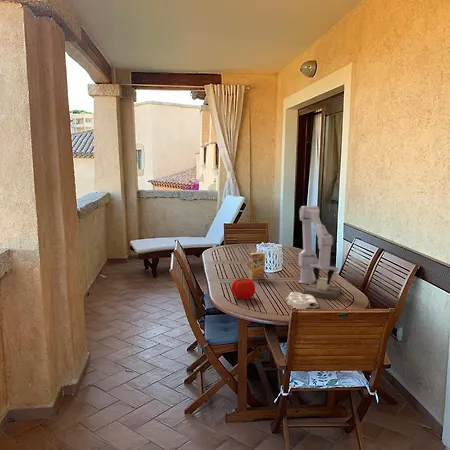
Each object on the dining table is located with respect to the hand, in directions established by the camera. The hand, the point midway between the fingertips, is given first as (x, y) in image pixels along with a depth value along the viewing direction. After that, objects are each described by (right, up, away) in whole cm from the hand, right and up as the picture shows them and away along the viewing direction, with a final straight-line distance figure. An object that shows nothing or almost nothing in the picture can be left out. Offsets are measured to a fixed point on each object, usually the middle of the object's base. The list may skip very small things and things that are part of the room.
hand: (322, 283), depth 215 cm
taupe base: (0, -5, +1) cm, 5 cm away
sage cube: (0, -3, 0) cm, 3 cm away
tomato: (-43, -6, -10) cm, 44 cm away
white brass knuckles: (-15, -8, -16) cm, 23 cm away
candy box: (-33, -1, +26) cm, 42 cm away
